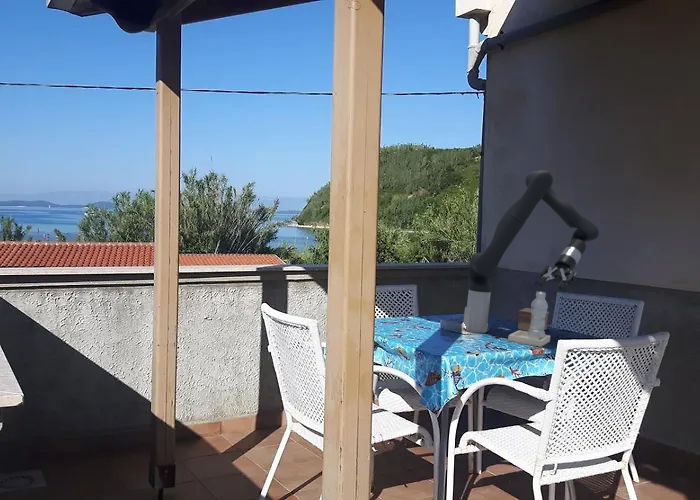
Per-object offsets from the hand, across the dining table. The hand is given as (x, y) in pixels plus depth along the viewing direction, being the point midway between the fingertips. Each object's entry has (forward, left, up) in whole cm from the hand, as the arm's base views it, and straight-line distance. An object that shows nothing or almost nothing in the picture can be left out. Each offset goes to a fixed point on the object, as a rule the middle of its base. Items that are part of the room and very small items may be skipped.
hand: (549, 287), depth 276 cm
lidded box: (+7, +26, -22) cm, 35 cm away
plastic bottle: (-5, -4, -22) cm, 23 cm away
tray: (-8, -2, -22) cm, 24 cm away
